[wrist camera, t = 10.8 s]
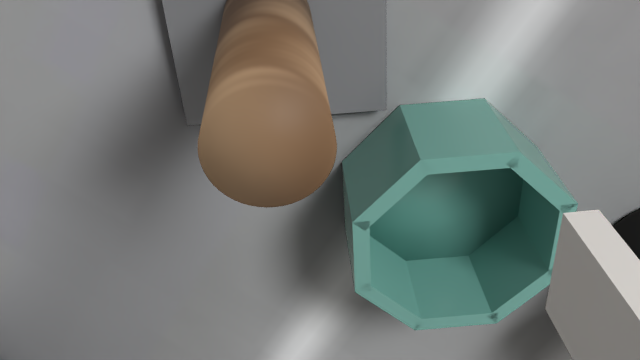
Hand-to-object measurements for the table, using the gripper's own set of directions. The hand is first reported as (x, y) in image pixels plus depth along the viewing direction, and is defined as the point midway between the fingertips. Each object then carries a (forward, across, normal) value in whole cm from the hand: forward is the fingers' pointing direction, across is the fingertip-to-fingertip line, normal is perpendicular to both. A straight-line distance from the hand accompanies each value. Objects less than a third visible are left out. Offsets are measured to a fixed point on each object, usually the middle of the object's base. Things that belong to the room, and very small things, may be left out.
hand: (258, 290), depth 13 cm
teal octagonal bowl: (+18, +9, -10) cm, 23 cm away
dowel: (+18, 0, 0) cm, 18 cm away
